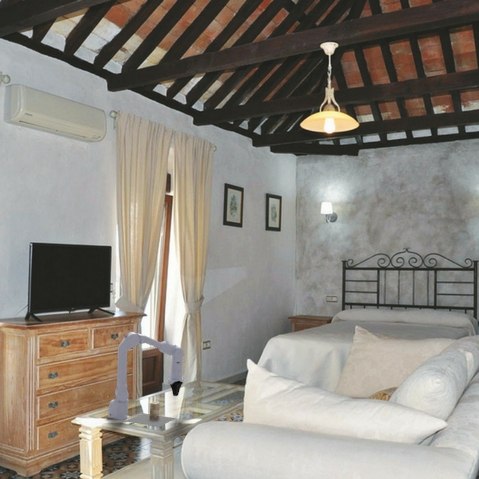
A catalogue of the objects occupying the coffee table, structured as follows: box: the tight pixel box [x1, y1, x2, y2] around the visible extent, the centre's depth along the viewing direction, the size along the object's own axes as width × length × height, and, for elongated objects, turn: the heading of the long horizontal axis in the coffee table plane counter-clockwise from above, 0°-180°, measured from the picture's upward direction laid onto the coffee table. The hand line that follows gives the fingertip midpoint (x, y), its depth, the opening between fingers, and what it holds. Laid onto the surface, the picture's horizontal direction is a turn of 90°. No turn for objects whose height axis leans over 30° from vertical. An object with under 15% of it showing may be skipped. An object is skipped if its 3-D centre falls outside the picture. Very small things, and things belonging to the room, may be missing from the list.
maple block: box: [149, 401, 161, 418], centre depth 296 cm, size 4×4×7 cm
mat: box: [124, 413, 177, 428], centre depth 290 cm, size 20×18×1 cm
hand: (175, 395), depth 302 cm, fingers closed
